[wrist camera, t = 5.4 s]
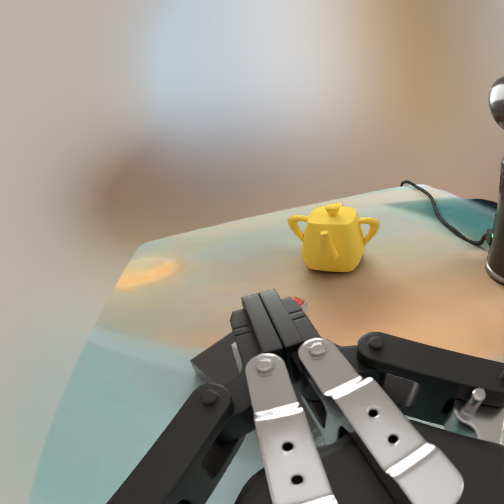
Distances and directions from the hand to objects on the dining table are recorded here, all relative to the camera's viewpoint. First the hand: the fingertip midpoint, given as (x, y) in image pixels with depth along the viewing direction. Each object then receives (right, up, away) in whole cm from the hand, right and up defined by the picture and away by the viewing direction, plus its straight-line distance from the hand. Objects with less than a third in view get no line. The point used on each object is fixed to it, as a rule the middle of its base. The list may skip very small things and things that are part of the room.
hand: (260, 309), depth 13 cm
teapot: (+14, +1, +37) cm, 40 cm away
